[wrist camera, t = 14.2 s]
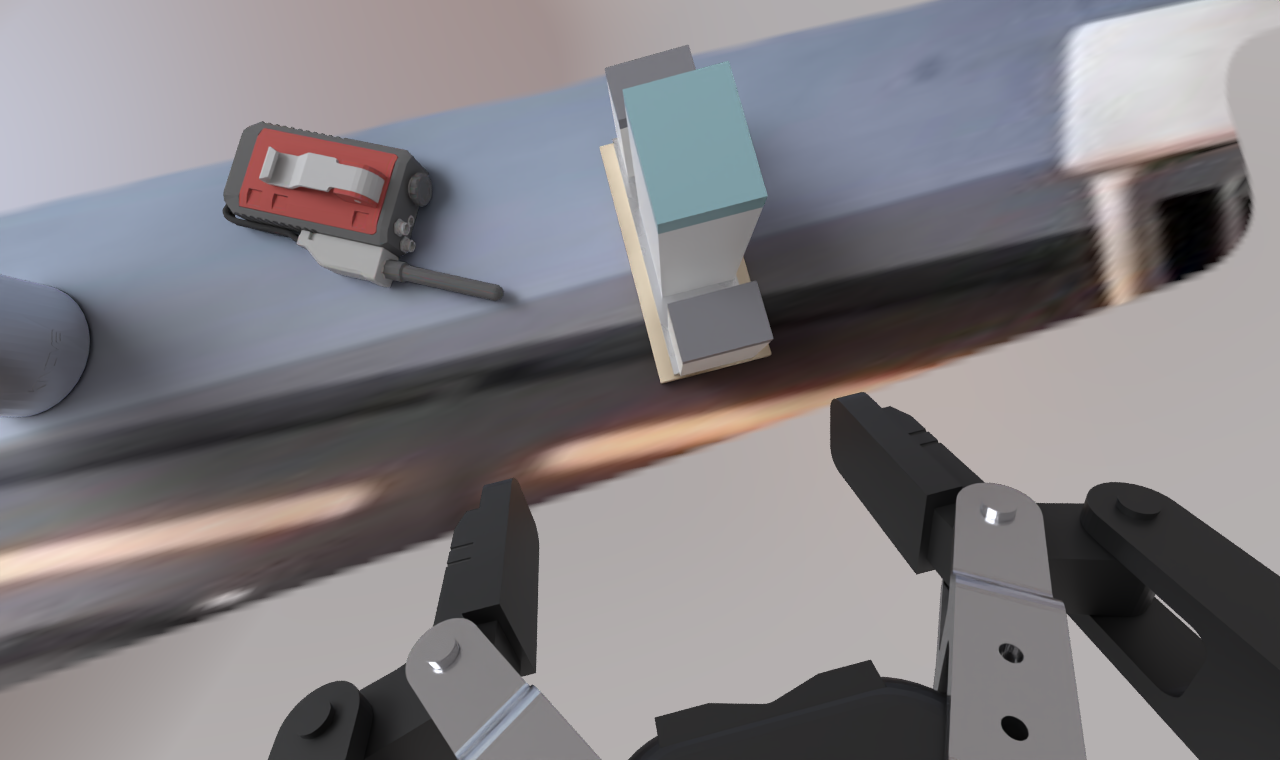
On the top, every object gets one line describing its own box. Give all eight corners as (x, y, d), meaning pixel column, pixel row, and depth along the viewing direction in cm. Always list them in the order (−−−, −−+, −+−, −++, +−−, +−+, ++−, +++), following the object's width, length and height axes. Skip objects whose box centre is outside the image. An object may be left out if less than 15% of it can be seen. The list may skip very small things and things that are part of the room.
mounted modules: (680, 376, 31) (682, 362, 25) (616, 134, 33) (604, 68, 27) (753, 357, 31) (773, 338, 25) (685, 116, 33) (688, 44, 27)
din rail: (674, 375, 32) (674, 374, 31) (613, 146, 33) (612, 139, 33) (756, 354, 31) (758, 352, 31) (690, 124, 33) (691, 117, 33)
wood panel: (661, 383, 32) (660, 382, 32) (601, 153, 34) (599, 146, 34) (769, 356, 32) (771, 354, 31) (703, 125, 34) (703, 118, 33)
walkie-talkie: (232, 253, 36) (505, 315, 34) (170, 228, 31) (480, 298, 30) (269, 136, 36) (538, 191, 35) (214, 96, 32) (519, 156, 30)
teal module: (662, 297, 31) (657, 224, 20) (639, 206, 32) (622, 89, 21) (734, 279, 31) (767, 196, 20) (709, 188, 32) (728, 60, 21)
